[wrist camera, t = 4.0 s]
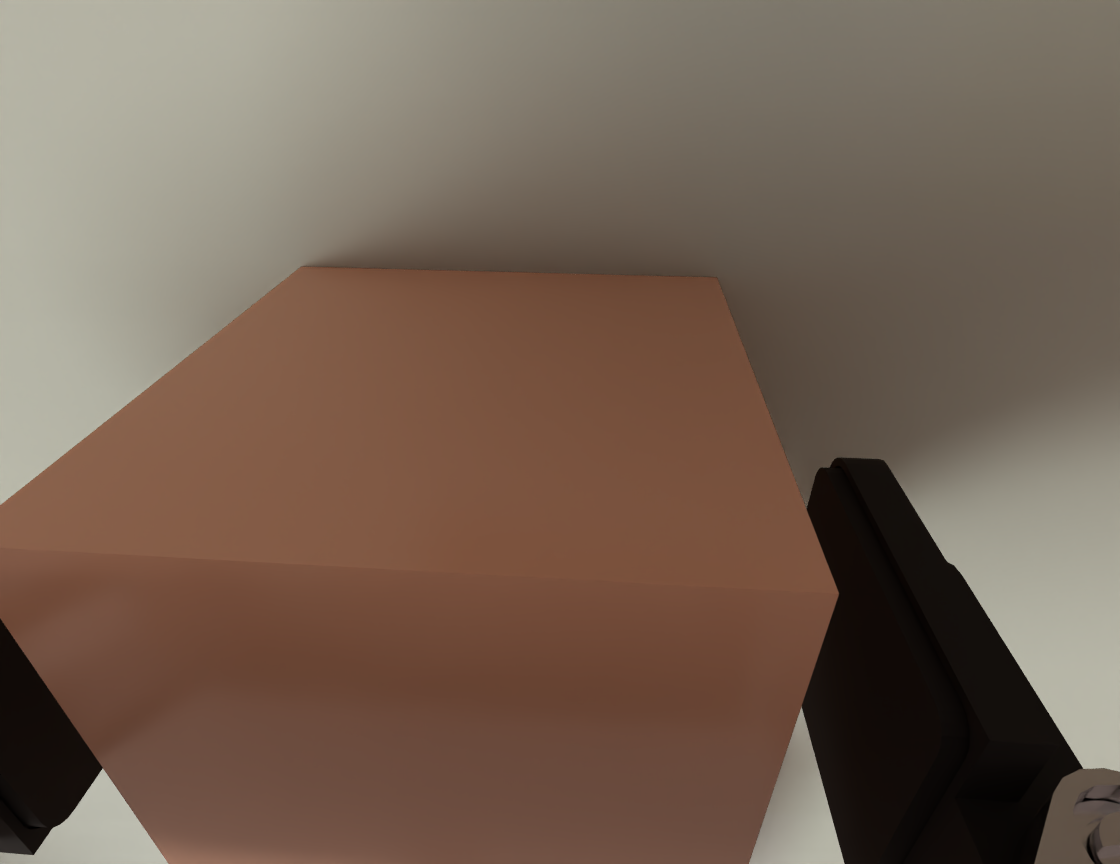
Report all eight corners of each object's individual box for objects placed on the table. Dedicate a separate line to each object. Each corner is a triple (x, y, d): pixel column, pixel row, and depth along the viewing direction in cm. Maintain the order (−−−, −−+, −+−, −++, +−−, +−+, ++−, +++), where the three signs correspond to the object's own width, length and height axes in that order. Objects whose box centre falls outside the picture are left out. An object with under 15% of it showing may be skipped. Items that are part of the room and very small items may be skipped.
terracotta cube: (716, 274, 9) (839, 594, 4) (674, 579, 12) (714, 964, 7) (303, 264, 9) (-50, 546, 4) (368, 562, 13) (206, 919, 8)
